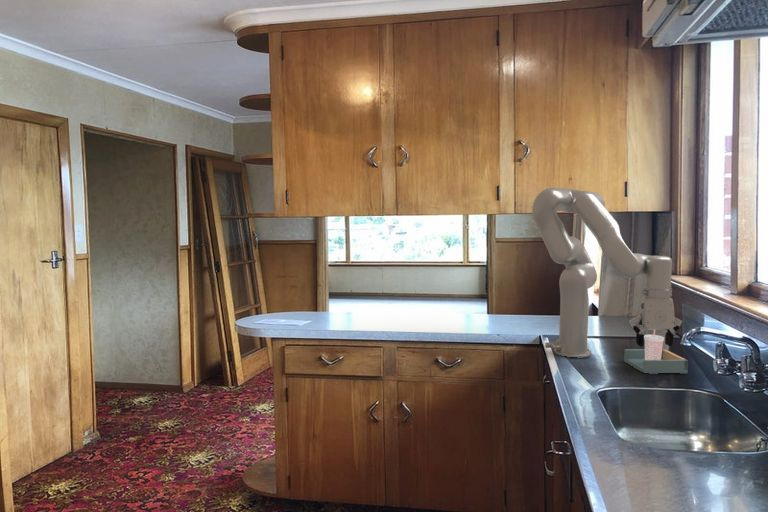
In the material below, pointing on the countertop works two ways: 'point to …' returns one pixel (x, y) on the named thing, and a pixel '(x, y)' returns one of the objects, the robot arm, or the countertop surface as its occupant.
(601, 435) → the countertop surface
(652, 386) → the countertop surface
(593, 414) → the countertop surface
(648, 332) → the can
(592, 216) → the robot arm
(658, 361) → the tray
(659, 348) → the beverage cup
